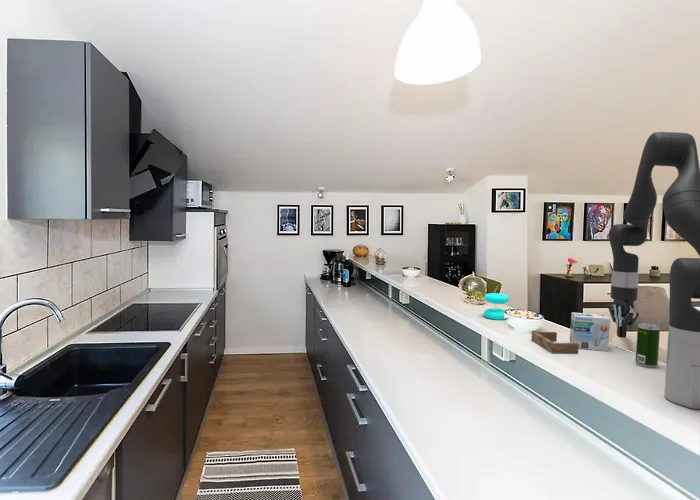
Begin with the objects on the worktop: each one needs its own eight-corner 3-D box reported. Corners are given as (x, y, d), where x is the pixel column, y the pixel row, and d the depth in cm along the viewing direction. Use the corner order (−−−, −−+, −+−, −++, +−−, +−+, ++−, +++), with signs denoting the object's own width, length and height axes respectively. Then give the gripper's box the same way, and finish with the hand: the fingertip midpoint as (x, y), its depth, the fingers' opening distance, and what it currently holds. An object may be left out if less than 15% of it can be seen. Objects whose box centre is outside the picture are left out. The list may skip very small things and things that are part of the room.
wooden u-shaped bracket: (578, 353, 139) (578, 344, 139) (552, 353, 139) (552, 343, 139) (554, 340, 154) (555, 331, 154) (531, 340, 154) (531, 331, 154)
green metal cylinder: (652, 369, 125) (655, 327, 124) (631, 364, 130) (634, 323, 129) (660, 366, 128) (663, 325, 127) (640, 361, 133) (643, 321, 132)
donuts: (486, 296, 184) (482, 292, 194) (485, 319, 185) (482, 314, 195) (511, 297, 183) (506, 293, 193) (510, 321, 184) (505, 315, 194)
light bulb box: (572, 348, 145) (574, 315, 144) (568, 343, 151) (570, 311, 151) (609, 351, 142) (611, 318, 141) (603, 346, 148) (605, 314, 148)
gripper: (649, 288, 139) (646, 342, 140) (623, 282, 152) (620, 332, 153) (625, 288, 139) (622, 342, 140) (601, 282, 152) (598, 331, 153)
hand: (621, 337), depth 147 cm, fingers closed
